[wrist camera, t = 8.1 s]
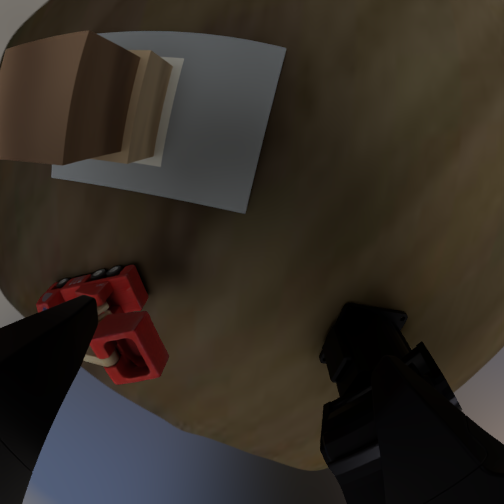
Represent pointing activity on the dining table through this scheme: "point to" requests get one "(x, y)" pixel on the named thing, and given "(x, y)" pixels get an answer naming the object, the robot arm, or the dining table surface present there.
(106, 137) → the walnut cube
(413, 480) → the robot arm
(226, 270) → the dining table surface
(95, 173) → the plate
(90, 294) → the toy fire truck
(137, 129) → the oak base block
